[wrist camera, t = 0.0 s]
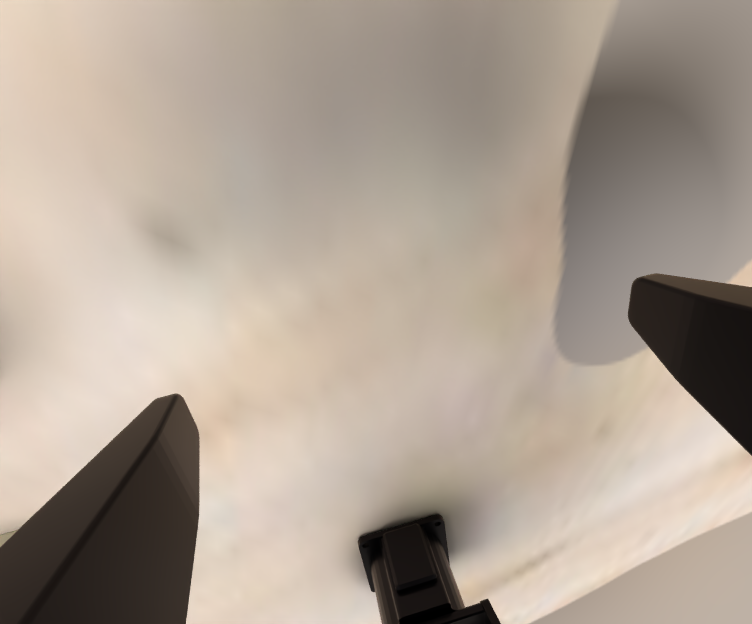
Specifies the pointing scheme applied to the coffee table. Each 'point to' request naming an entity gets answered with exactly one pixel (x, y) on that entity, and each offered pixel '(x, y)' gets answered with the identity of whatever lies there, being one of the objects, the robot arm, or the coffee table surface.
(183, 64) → the coffee table surface
